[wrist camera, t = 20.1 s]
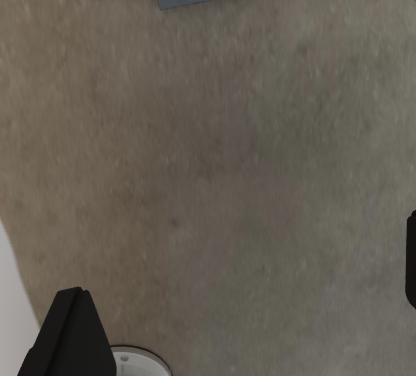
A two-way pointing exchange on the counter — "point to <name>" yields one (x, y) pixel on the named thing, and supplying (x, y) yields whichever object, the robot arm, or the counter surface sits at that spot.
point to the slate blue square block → (176, 3)
